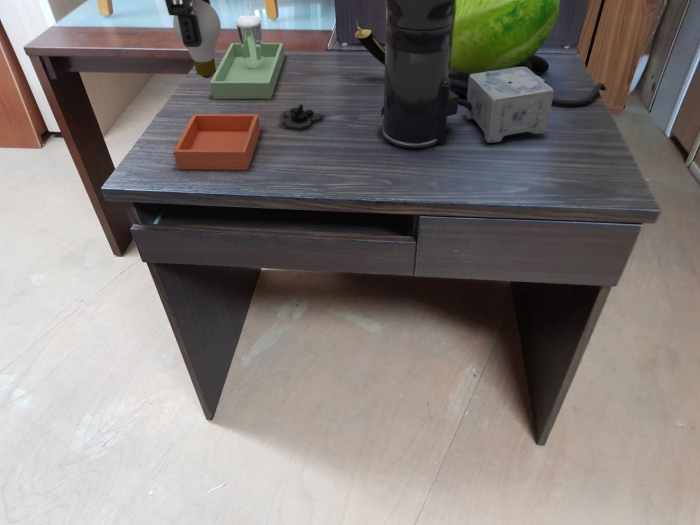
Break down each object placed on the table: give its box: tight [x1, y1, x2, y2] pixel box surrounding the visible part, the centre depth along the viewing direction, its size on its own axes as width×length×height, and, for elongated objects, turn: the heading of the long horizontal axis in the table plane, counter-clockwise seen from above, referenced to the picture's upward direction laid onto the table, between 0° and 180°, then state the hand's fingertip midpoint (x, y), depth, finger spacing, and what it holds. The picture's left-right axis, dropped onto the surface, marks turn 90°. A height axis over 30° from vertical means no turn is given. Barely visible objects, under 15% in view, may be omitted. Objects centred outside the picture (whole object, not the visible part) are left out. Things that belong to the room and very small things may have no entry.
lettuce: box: [450, 0, 561, 76], centre depth 91 cm, size 15×23×16 cm
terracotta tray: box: [173, 113, 261, 171], centre depth 82 cm, size 10×11×3 cm
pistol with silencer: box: [354, 26, 469, 97], centre depth 93 cm, size 4×25×11 cm, turn 53°
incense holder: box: [465, 67, 555, 144], centre depth 84 cm, size 10×8×10 cm
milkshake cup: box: [235, 4, 263, 69], centre depth 102 cm, size 4×5×10 cm
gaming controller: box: [513, 54, 550, 85], centre depth 97 cm, size 11×4×7 cm
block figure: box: [282, 104, 322, 131], centre depth 88 cm, size 6×2×6 cm
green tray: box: [209, 42, 285, 100], centre depth 101 cm, size 10×18×3 cm, turn 178°
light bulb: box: [172, 0, 222, 79], centre depth 72 cm, size 6×6×10 cm
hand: (199, 35), depth 72 cm, fingers closed on light bulb, 6 cm apart
